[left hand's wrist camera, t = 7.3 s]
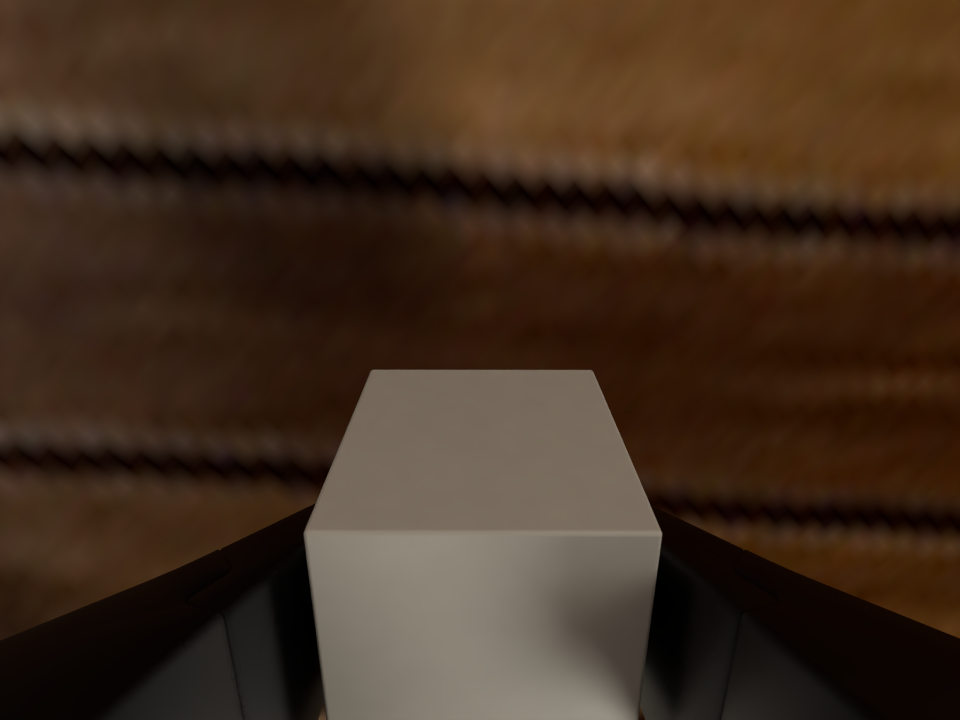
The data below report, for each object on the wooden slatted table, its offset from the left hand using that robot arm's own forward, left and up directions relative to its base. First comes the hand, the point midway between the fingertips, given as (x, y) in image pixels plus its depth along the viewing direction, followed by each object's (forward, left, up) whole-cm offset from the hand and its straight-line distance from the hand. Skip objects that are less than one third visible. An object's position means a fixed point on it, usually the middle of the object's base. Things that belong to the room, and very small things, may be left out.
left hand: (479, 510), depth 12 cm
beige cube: (0, 0, -1) cm, 1 cm away
